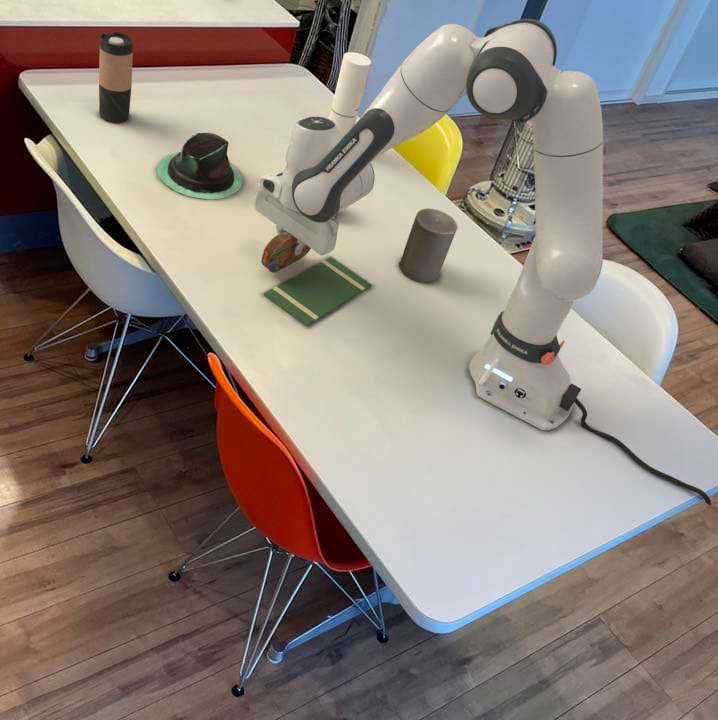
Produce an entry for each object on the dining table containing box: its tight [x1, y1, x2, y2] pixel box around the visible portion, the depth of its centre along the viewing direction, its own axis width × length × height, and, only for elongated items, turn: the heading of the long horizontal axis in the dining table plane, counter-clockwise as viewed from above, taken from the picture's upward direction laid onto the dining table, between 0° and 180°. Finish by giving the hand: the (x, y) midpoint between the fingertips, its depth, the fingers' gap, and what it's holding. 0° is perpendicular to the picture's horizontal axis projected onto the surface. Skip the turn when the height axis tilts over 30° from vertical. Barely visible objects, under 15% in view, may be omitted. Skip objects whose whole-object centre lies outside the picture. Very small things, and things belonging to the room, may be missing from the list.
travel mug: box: [98, 31, 134, 124], centre depth 190 cm, size 8×8×20 cm
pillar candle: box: [398, 208, 458, 283], centre depth 176 cm, size 10×10×15 cm
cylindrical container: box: [328, 51, 372, 137], centre depth 205 cm, size 7×7×25 cm
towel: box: [263, 256, 373, 327], centre depth 166 cm, size 12×22×1 cm, turn 142°
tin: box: [261, 231, 312, 273], centre depth 166 cm, size 15×3×8 cm, turn 142°
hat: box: [156, 132, 243, 200], centre depth 186 cm, size 15×19×20 cm
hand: (289, 248), depth 166 cm, fingers closed on tin, 2 cm apart
